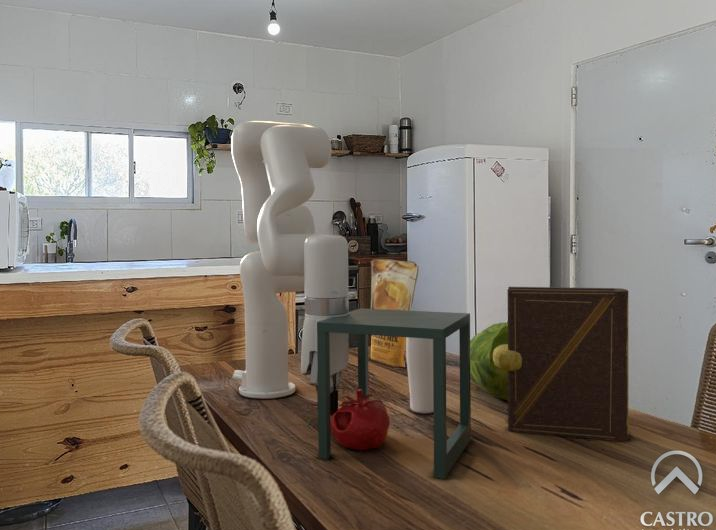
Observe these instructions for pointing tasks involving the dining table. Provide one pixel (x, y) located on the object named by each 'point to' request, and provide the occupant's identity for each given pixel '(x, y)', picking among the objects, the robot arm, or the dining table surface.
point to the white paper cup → (420, 374)
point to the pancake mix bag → (391, 304)
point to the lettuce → (489, 360)
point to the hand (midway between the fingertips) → (327, 413)
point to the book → (567, 361)
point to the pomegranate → (360, 423)
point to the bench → (438, 330)
